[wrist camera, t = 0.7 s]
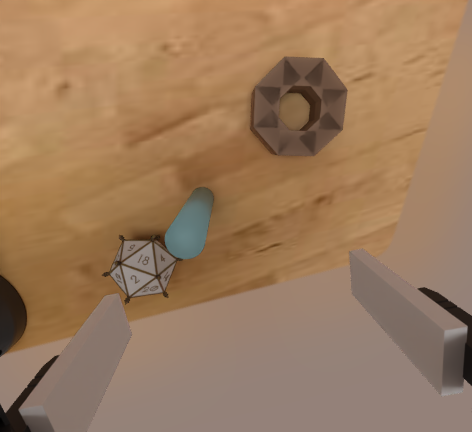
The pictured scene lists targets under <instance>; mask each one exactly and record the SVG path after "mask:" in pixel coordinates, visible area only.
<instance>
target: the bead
mask: <svg viewBox="0 0 472 432" xmlns="http://www.w3.org/2000/svg"><path fill="white" fill-rule="evenodd" d="M286 92H290V93H301V94H302V95H303V96H304V98H305V99H306V100H307V101H308V103H309V104H310V116H309V122H308V123H307V124H306V125H305V126H304V127H303V128H302V129H301V130H299V131H290V130H289V129H288V128H287V127H286V125H285V124H284V123H283V122H282V121H281V120H280V118H279V104H280V98H281V97H282V96H283V95H284V94H285V93H286ZM346 98H347V88H346V87H345V86H344V84H343V83H342V82H341V80H340V79H339V78H338V76H337V75H336V74H335V72H334V71H333V70H332V68H331V67H330V66H329V64H328V63H327V62H326V60H325V59H324V58H304V57H284V58H283V59H282V60H281V61H280V62H279V63H278V64H277V65H276V66H275V67H274V68H273V69H272V70H271V71H270V72H269V73H268V74H267V75H266V76H265V77H264V78H263V79H262V80H261V81H260V82H259V83H258V84H257V85H256V86H255V88H254V90H253V92H252V101H251V126H250V129H251V130H252V132H253V133H254V134H255V135H256V136H257V137H258V138H259V139H260V141H261V142H262V143H263V144H264V145H265V146H266V147H267V149H268V150H269V151H270V152H271V153H272V154H275V155H292V156H315V155H316V154H317V153H318V152H319V151H320V150H321V149H322V148H323V147H325V146H326V145H327V144H328V143H329V142H330V141H331V140H332V139H333V138H334V137H335V136H337V135H338V134H339V133H340V132H341V131H342V130H343V122H344V114H345V106H346Z"/></svg>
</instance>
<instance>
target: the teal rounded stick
mask: <svg viewBox="0 0 472 432" xmlns="http://www.w3.org/2000/svg"><path fill="white" fill-rule="evenodd" d="M213 201H214V196H213V193H212V192H211V191H210V190H209V189H208V188H205V187H199V188H197V189H195V190H194V191H193V193H192V194H191V196H190V197H189V199H188V200H187V202H186V203H185V205H184V206H183V208H182V209H181V211H180V212H179V214H178V215H177V217H176V218H175V220H174V221H173V223H172V224H171V226H170V227H169V229H168V230H167V232H166V235H165V245H166V247H167V249H168V251H169V252H170V253H171V254H172V255H174V256H175V257H177V258H180V259H191V258H194V257H196V256H197V255H199V254H200V253H201V252H202V250H203V248H204V246H205V241H206V236H207V231H208V226H209V221H210V216H211V211H212V206H213Z"/></svg>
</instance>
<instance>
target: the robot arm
mask: <svg viewBox="0 0 472 432" xmlns="http://www.w3.org/2000/svg"><path fill="white" fill-rule="evenodd" d="M349 255H350V272H351V288H352V294H353V296H354V297H355V298H356V299H357V300H358V301H359V302H360V304H361V305H362V306H363V307H364V308H365V309H366V311H367V312H368V313H369V314H370V315H371V316H372V317H373V319H374V320H375V321H376V322H377V323H378V324H379V325H380V326H381V328H382V329H383V330H384V331H385V332H386V333H387V335H388V336H389V337H390V338H391V339H392V340H393V341H394V343H395V344H396V345H397V346H398V347H399V348H400V349H401V351H403V353H404V354H405V355H406V356H407V357H408V359H409V360H410V361H411V362H412V363H413V364H414V365H415V367H416V368H417V369H418V370H419V371H420V372H421V373H422V375H423V376H424V377H425V378H426V379H427V380H428V381H429V383H430V384H431V385H432V386H433V387H434V388H435V389H436V391H437V392H438V393H439V394H440V395H441V396H445V395H451V394H456V393H461V392H463V382H464V379H465V380H466V381H467V382H468V383H469V384H470V385H471V386H472V316H471V315H470V314H468V313H467V312H465V311H463V310H462V309H461V308H459V307H457V305H455V304H454V303H452V302H451V301H448V299H446V298H445V297H443V296H442V295H440V294H439V293H437V292H434V291H432V290H430V289H427V288H425V287H424V288H418V289H416V288H415V287H414V286H412V285H411V284H410V283H408V282H407V281H405V280H404V279H403V278H401V277H400V276H399V275H397V274H396V273H395V272H393V271H392V270H391V269H389V268H388V267H386V266H385V265H384V264H382V263H381V262H380V261H379V260H377V259H376V258H374V257H373V256H372V255H370V254H369V253H368V252H366V251H365V250H364V249H358V250H353V251H349ZM25 325H26V312H25V308H24V305H23V302H22V300H21V298H20V296H19V295H18V293H17V292H16V291H15V289H14V288H13V287H12V286H11V285H10V284H9V283H8V282H7V281H6V280H5V279H3V278H2V277H1V276H0V357H1V356H2V355H3V354H5V353H6V352H7V351H8V350H9V349H10V348H11V347H12V346H13V345H14V344H15V343H16V342H17V341H18V340H19V339H20V337H21V336H22V334H23V332H24V329H25ZM131 335H132V332H131V330H130V326H129V323H128V320H127V317H126V314H125V311H124V308H123V305H122V302H121V299H120V296H119V293H116V294H111V295H105V296H104V298H103V299H102V300H101V302H100V303H99V304H98V305H97V307H96V308H95V309H94V311H93V312H92V313H91V315H90V316H89V317H88V319H87V320H86V321H85V323H84V324H83V325H82V327H81V328H80V329H79V330H78V332H77V333H76V334H75V336H74V337H73V338H72V340H71V341H70V342H69V344H68V345H67V346H66V348H65V349H64V350H63V352H62V353H61V354H60V355H57V356H55V357H53V358H52V359H51V360H50V361H49V362H47V363H46V364H45V365H44V366H43V367H42V368H41V370H40V371H39V372H38V373H37V374H36V376H35V378H34V379H32V381H31V382H30V383H29V384H28V387H27V388H25V389H24V391H23V392H22V393H21V395H20V396H19V397H18V398H17V400H16V401H15V402H14V403H13V405H12V406H11V407H10V408H9V410H8V411H7V412H6V413H5V412H4V410H3V408H2V407H1V405H0V432H87V430H88V428H89V426H90V424H91V422H92V419H93V417H94V415H95V413H96V411H97V409H98V406H99V404H100V402H101V400H102V398H103V396H104V394H105V391H106V389H107V387H108V385H109V383H110V381H111V378H112V376H113V374H114V372H115V370H116V368H117V365H118V363H119V361H120V359H121V357H122V355H123V353H124V350H125V348H126V346H127V344H128V342H129V340H130V338H131Z"/></svg>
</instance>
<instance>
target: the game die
mask: <svg viewBox="0 0 472 432" xmlns="http://www.w3.org/2000/svg"><path fill="white" fill-rule="evenodd" d="M159 238H160V236H159V235H158V236H155V235H153V236H151V239H141V240H125V239H124V237H123V236H122V235H119V239H120V240H122V244H121V246H120V248H119V250H118V253H117V255H116V257H115V260H114V262H113V264H112V267H111V269H110V271H109V272H106V273H104V274H102V276H105V277H106V276H108V275H110V276H111V277H112V278H113V280H114V281H115V282H116V283H117V285H118V286H119V287H120V288H121V289H122V291H123V292H124V293H125V294H126V295H127V298H126V300H124V301H125V305H126V304H127V303H129V301H130V298H133V297H140V296H146V295H153V294H160V293H163V296H165V297H167V298H168V294H167V292H165V290H166V287H167V285H168V282H169V280H170V277H171V275H172V272H173V270H174V267H175V265H176V262H177V261H181V260H183V259H180V258H176V257H175V256H174V255H172V254H171V253H170V252H169V251H168V250H167V249H166V248H165V247H164V246H163V245H162V244H161V243H160V242H159V241H158V240H159Z"/></svg>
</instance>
